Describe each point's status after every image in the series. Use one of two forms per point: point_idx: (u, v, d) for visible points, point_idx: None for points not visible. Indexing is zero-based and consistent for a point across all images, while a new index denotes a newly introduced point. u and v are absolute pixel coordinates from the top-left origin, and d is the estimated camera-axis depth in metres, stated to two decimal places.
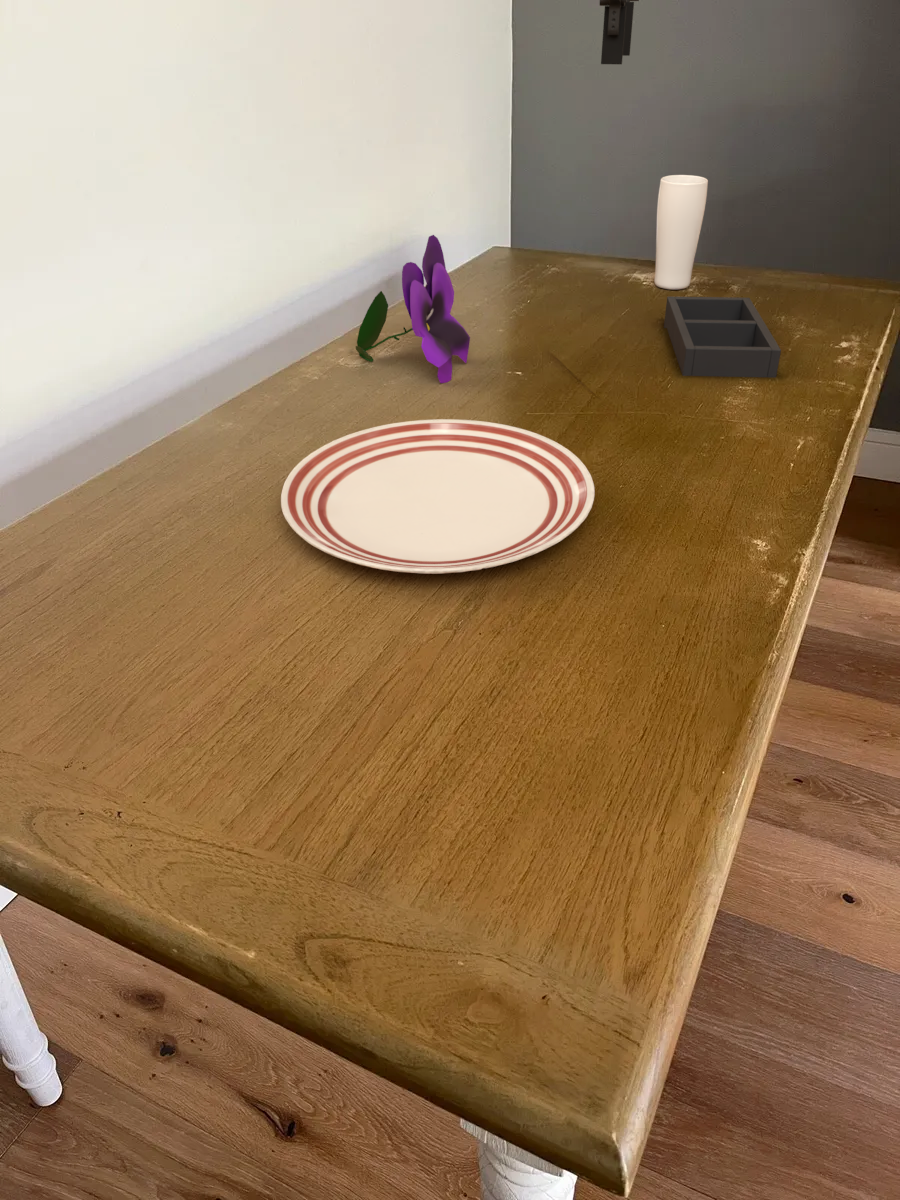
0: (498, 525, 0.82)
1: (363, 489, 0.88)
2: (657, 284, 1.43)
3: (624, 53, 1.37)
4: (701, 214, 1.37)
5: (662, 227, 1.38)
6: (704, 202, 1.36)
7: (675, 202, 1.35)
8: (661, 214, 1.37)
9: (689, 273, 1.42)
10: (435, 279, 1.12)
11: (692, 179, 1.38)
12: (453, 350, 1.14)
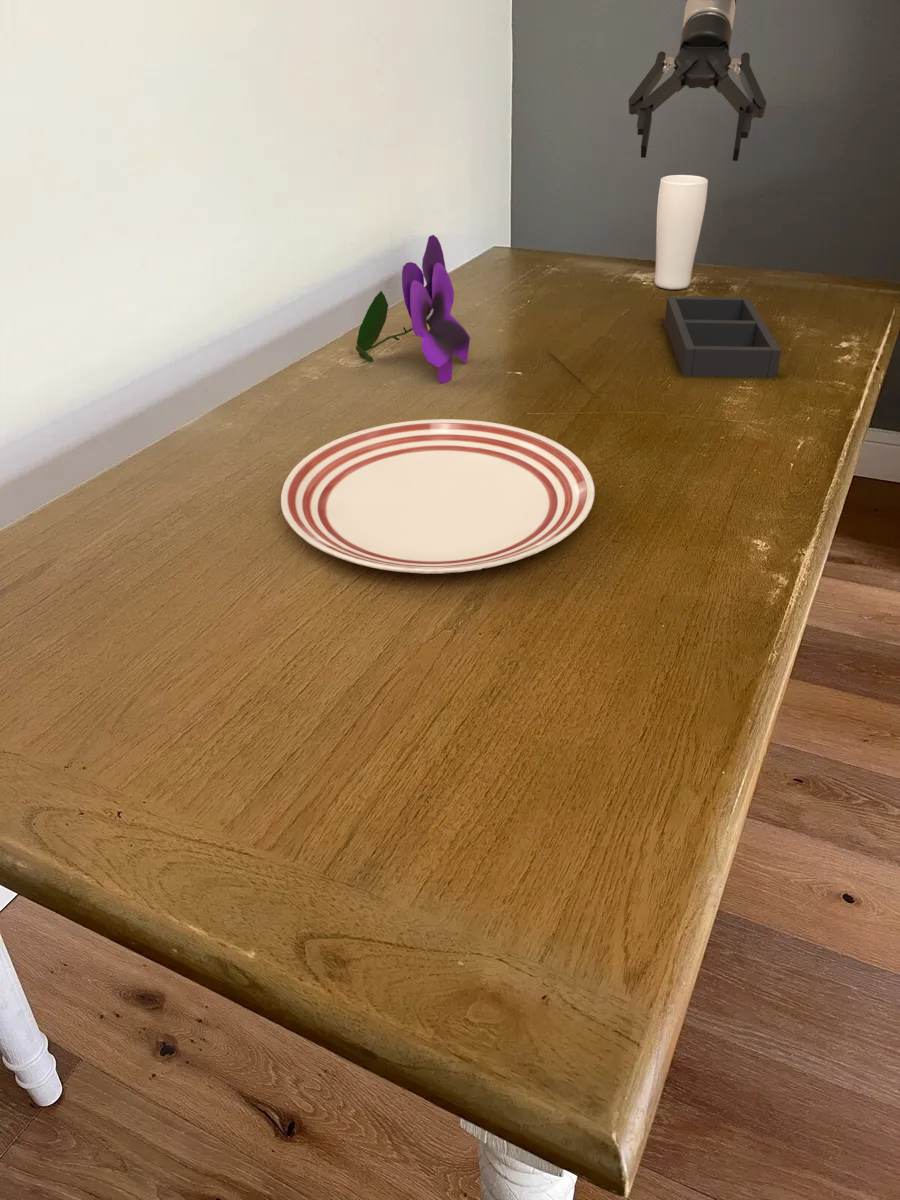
0: (498, 525, 0.82)
1: (363, 489, 0.88)
2: (657, 284, 1.43)
3: (646, 153, 1.45)
4: (701, 214, 1.37)
5: (662, 227, 1.38)
6: (704, 202, 1.36)
7: (675, 202, 1.35)
8: (661, 214, 1.37)
9: (689, 273, 1.42)
10: (435, 279, 1.12)
11: (692, 179, 1.38)
12: (453, 350, 1.14)
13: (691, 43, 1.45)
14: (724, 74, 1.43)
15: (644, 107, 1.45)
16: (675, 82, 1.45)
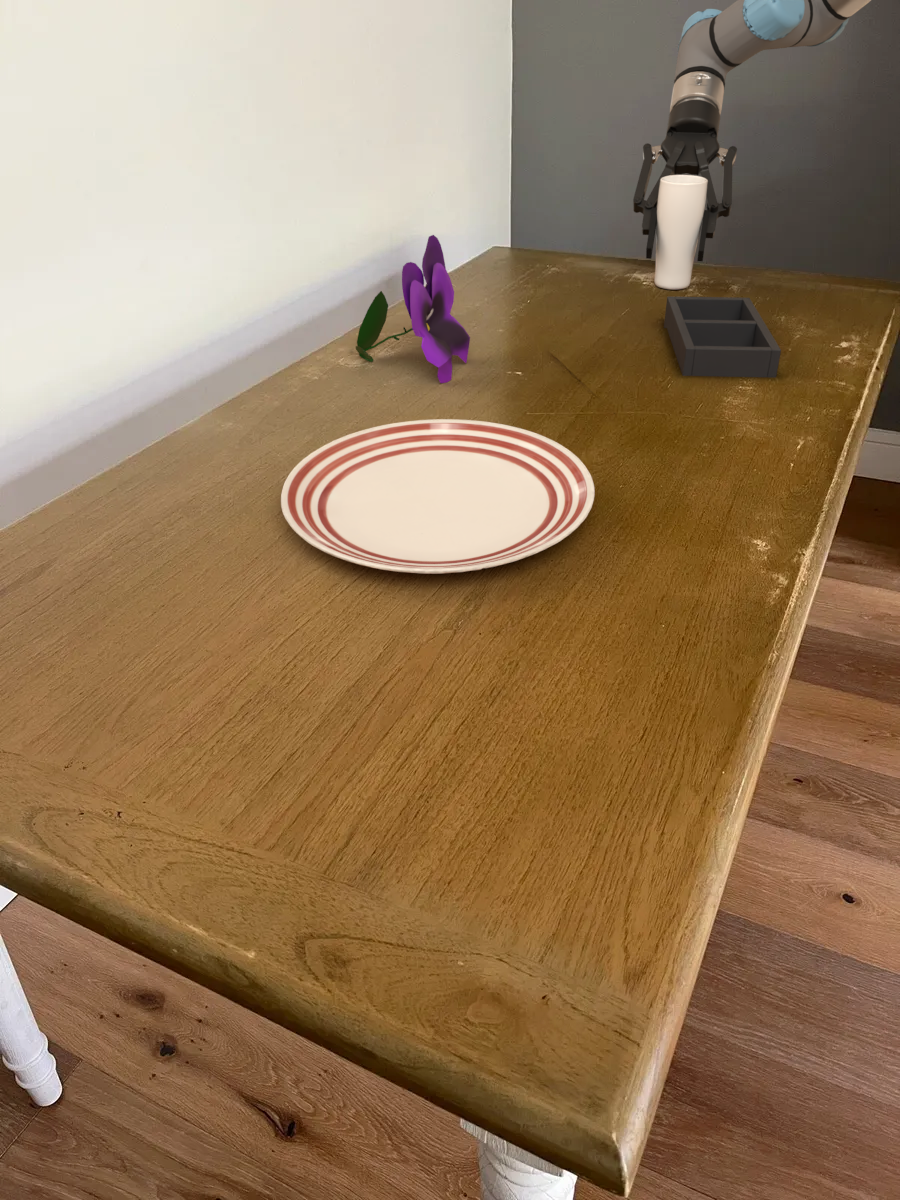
0: (498, 525, 0.82)
1: (363, 489, 0.88)
2: (657, 284, 1.43)
3: (651, 254, 1.40)
4: (701, 214, 1.37)
5: (662, 227, 1.38)
6: (704, 202, 1.36)
7: (675, 202, 1.35)
8: (661, 214, 1.37)
9: (689, 273, 1.42)
10: (435, 279, 1.12)
11: (692, 179, 1.38)
12: (453, 350, 1.14)
13: (678, 129, 1.40)
14: (704, 165, 1.39)
15: (651, 206, 1.39)
16: (671, 173, 1.40)
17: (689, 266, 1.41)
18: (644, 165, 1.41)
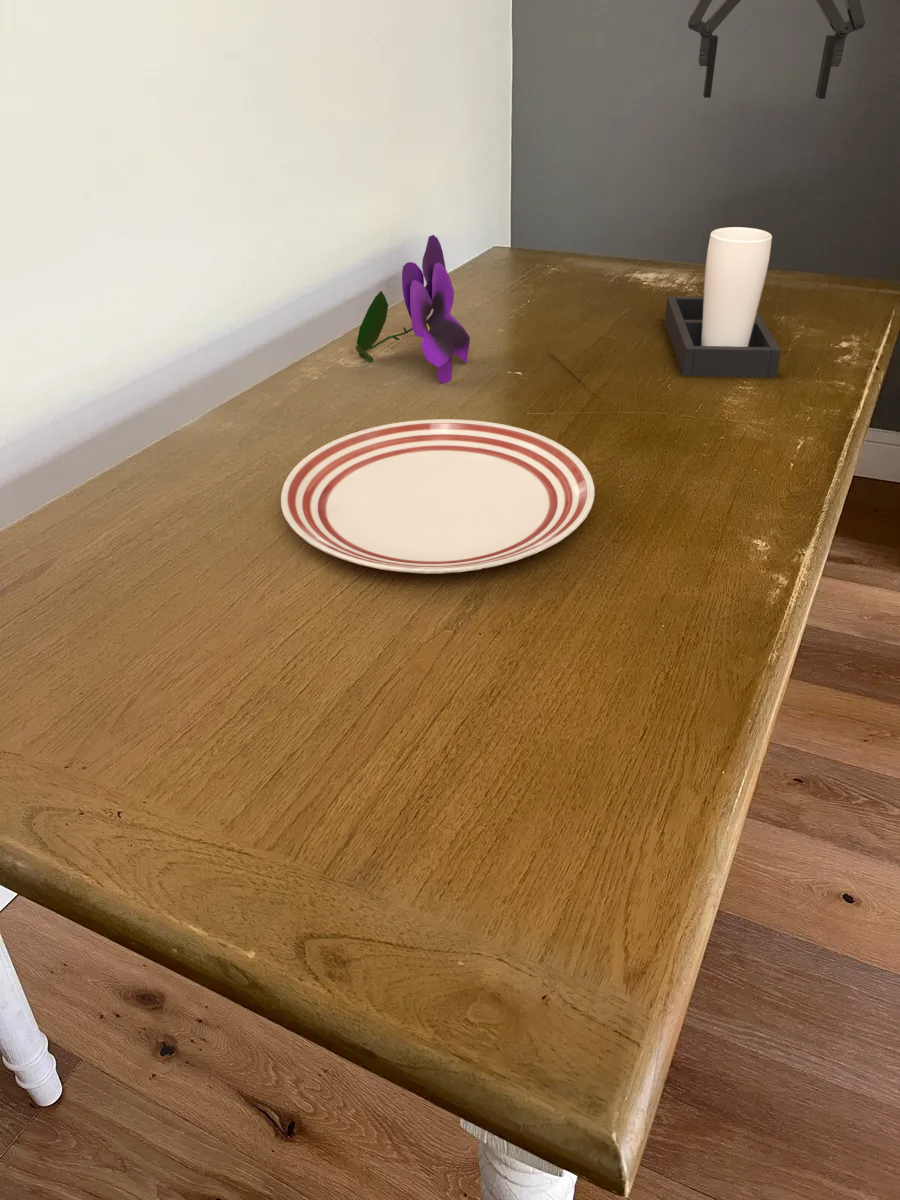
0: (498, 525, 0.82)
1: (363, 489, 0.88)
2: None
3: None
4: (763, 279, 1.06)
5: (712, 294, 1.08)
6: (767, 263, 1.06)
7: (730, 264, 1.04)
8: (711, 278, 1.07)
9: None
10: (435, 279, 1.12)
11: (751, 232, 1.08)
12: (453, 350, 1.14)
13: None
14: None
15: (708, 34, 1.15)
16: None
17: (745, 343, 1.10)
18: None
